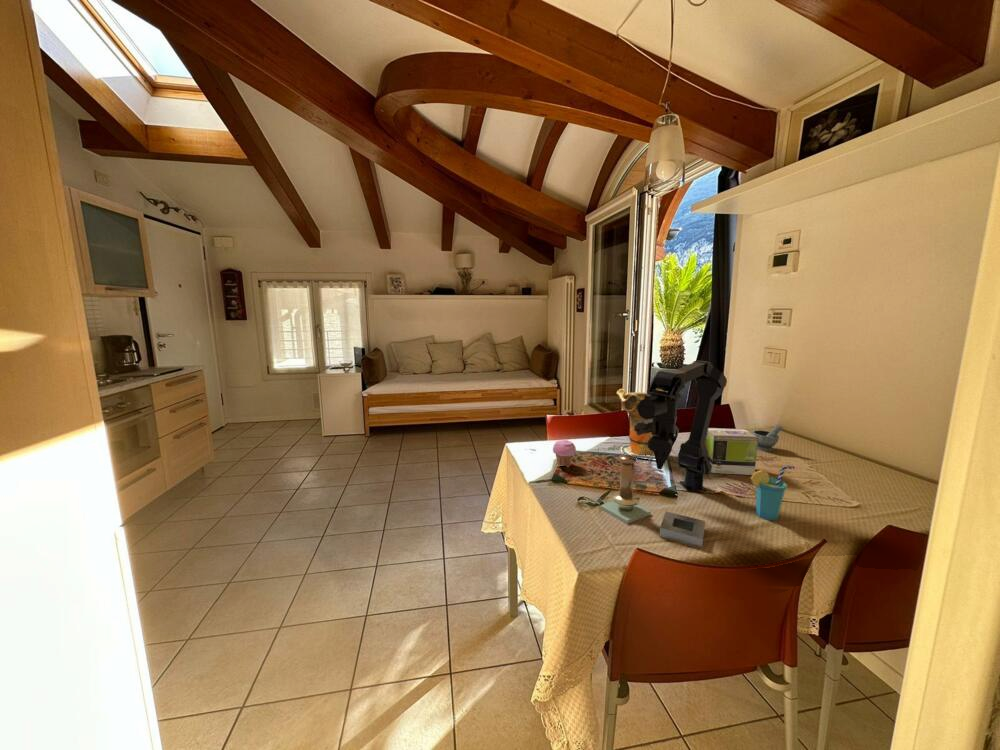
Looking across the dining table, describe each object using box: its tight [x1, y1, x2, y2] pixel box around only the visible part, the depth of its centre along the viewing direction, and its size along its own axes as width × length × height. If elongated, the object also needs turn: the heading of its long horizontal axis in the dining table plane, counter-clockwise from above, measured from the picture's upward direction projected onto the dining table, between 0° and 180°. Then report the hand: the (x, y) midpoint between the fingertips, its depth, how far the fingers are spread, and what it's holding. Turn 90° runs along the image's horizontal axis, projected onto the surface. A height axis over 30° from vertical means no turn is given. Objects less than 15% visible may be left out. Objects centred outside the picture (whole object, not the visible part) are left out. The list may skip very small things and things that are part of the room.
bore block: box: [658, 511, 706, 549], centre depth 107 cm, size 10×10×3 cm
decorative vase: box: [616, 388, 667, 456], centre depth 165 cm, size 21×23×28 cm
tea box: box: [705, 427, 758, 476], centre depth 150 cm, size 15×10×15 cm
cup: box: [750, 465, 795, 522], centre depth 116 cm, size 14×8×15 cm, turn 107°
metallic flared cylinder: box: [611, 454, 641, 511], centre depth 117 cm, size 8×8×16 cm
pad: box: [599, 500, 652, 525], centre depth 118 cm, size 10×10×2 cm
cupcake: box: [552, 439, 577, 467], centre depth 152 cm, size 9×9×10 cm
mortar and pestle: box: [751, 424, 784, 452], centre depth 171 cm, size 11×9×12 cm
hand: (661, 463), depth 122 cm, fingers open, 9 cm apart
